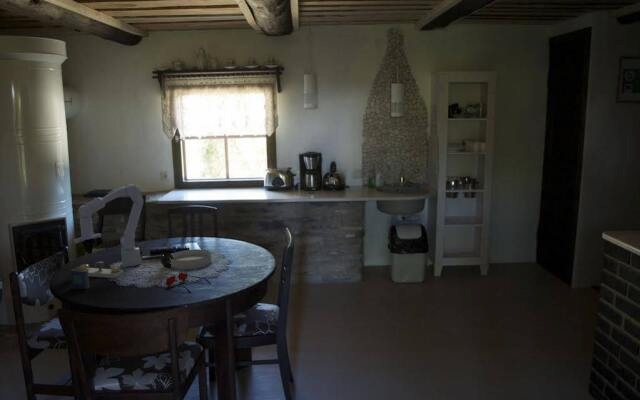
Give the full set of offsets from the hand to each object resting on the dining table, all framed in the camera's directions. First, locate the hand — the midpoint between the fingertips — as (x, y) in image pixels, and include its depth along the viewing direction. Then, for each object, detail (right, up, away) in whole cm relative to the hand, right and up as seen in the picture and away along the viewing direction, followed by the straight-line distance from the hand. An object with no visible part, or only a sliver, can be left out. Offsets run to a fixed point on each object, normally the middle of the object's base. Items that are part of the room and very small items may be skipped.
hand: (89, 253), depth 265 cm
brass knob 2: (+17, -10, -8) cm, 21 cm away
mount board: (+8, -10, -6) cm, 15 cm away
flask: (+8, -14, -26) cm, 30 cm away
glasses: (+59, -13, -26) cm, 65 cm away
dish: (+51, -7, +11) cm, 52 cm away
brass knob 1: (0, -10, -4) cm, 10 cm away
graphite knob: (+8, -8, -6) cm, 13 cm away
